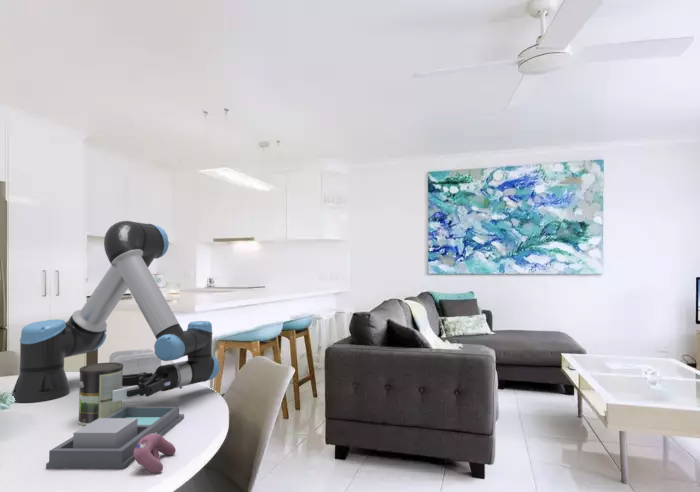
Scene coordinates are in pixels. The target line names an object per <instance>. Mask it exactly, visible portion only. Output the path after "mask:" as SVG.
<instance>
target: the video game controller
mask: <svg viewBox="0 0 700 492" xmlns="http://www.w3.org/2000/svg"><path fill="white" fill-rule="evenodd" d="M176 451H177V450H176V447H175V446H174V444H172V443H171V442H170V441H168V440H166V438H165V437H164V436H161V435H160V434H157V432H155V433H154V434H148V435H146V436H144V437H143V438H141V440H140V441H139V443H138V445H137V447H136V448H135V449H134V457H135V460H134V461H135V462H136V463H137V464H138V465H141V467H143V468H144V469H145V470H147V471H148V472H150V473H154V474H160V473H161V472H163V468H164V467H163V466H164V465H163V463H162V462H161V461H160V460H159V459H160V453H161V454H163V455H166V456H174V455H175V453H176Z"/></svg>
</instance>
